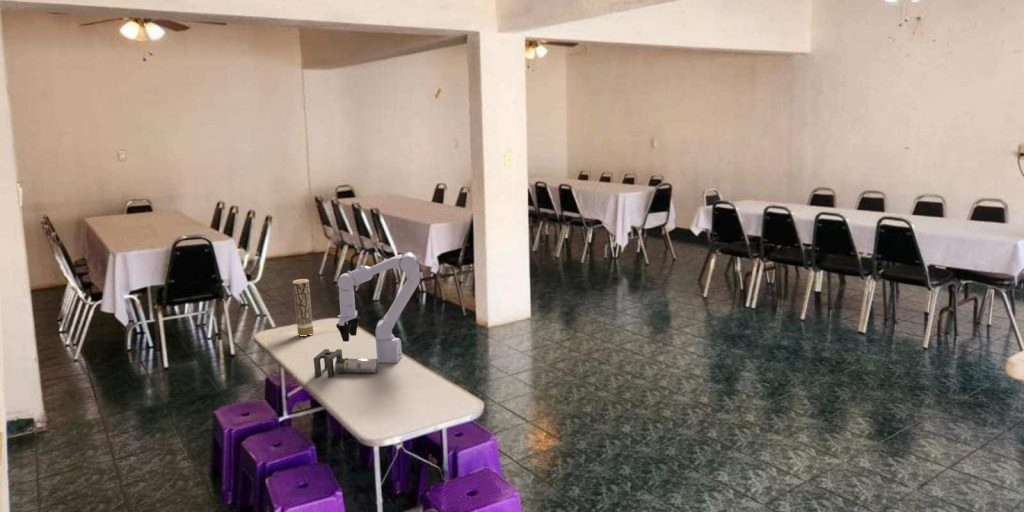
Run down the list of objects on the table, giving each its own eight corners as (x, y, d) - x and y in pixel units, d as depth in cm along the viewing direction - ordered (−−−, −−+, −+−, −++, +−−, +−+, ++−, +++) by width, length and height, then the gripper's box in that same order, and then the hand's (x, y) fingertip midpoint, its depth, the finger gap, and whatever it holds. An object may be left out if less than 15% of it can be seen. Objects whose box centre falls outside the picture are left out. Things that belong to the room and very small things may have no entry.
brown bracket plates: (343, 367, 275) (341, 349, 273) (332, 377, 265) (330, 358, 263) (326, 367, 276) (324, 349, 274) (315, 377, 266) (313, 358, 264)
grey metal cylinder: (379, 369, 270) (378, 356, 269) (373, 375, 264) (372, 361, 263) (341, 369, 273) (340, 355, 272) (335, 374, 267) (333, 361, 266)
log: (309, 337, 316) (304, 282, 312) (295, 337, 318) (289, 282, 313) (316, 332, 323) (311, 279, 318) (302, 332, 324) (297, 278, 320)
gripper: (344, 299, 284) (347, 332, 287) (330, 309, 270) (332, 343, 272) (361, 300, 283) (363, 333, 285) (347, 309, 269) (350, 344, 271)
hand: (349, 338), depth 279 cm, fingers open, 7 cm apart
